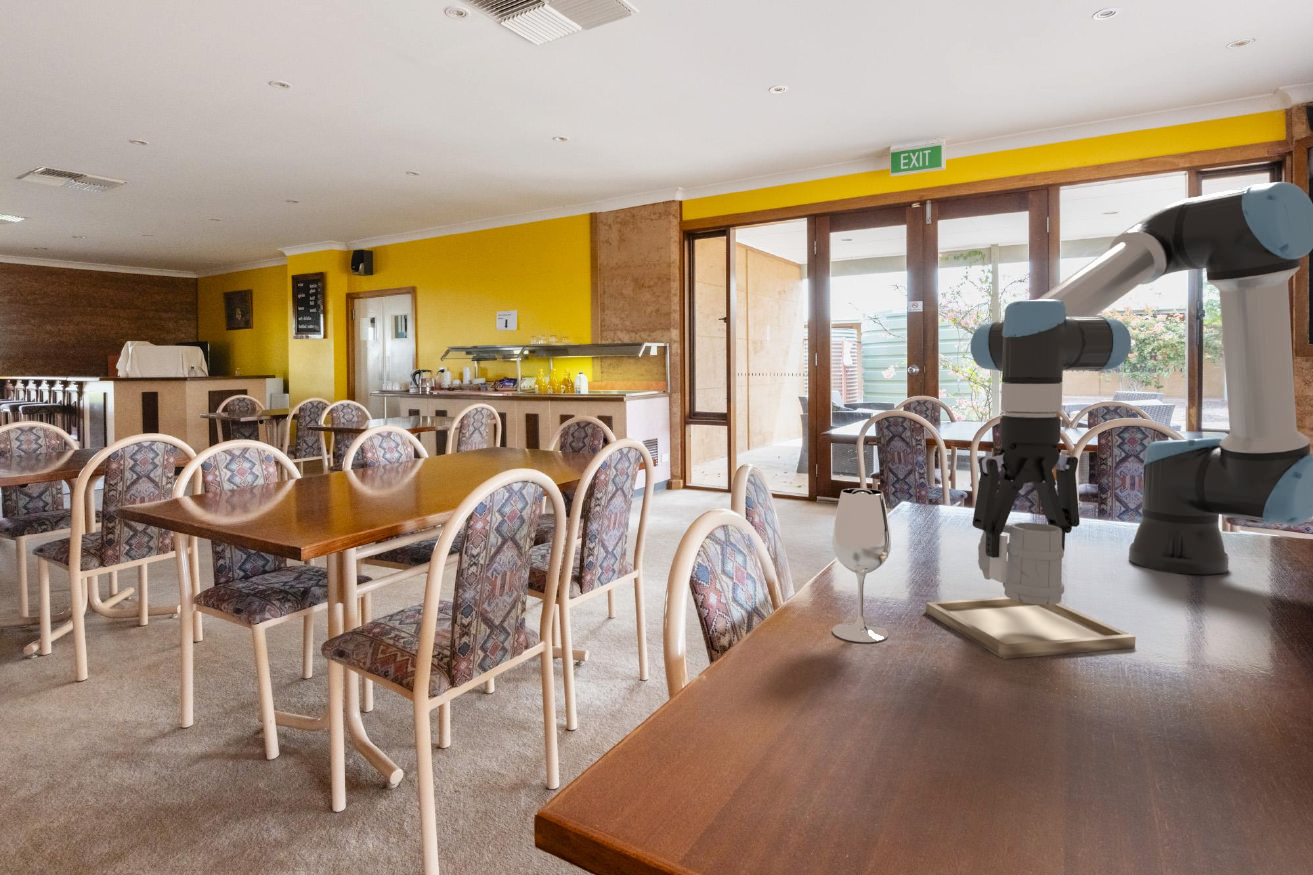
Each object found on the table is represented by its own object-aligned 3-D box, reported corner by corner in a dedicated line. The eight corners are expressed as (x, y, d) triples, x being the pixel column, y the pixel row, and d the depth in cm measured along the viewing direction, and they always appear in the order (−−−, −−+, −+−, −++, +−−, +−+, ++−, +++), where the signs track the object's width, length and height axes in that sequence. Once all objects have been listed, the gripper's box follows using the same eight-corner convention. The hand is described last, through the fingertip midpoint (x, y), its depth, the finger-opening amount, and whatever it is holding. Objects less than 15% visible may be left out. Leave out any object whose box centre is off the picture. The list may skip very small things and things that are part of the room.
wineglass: (890, 627, 110) (893, 488, 108) (888, 646, 103) (890, 497, 101) (834, 621, 113) (836, 485, 111) (828, 639, 106) (829, 494, 104)
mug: (1049, 609, 101) (1053, 519, 100) (963, 589, 110) (966, 506, 109) (1073, 598, 106) (1078, 512, 105) (989, 580, 115) (993, 500, 114)
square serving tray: (1039, 603, 120) (1039, 594, 120) (1135, 647, 101) (1135, 636, 101) (925, 612, 117) (925, 602, 116) (1003, 659, 98) (1003, 647, 98)
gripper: (1077, 411, 112) (1070, 567, 114) (947, 414, 108) (942, 575, 110) (1116, 415, 104) (1108, 581, 106) (978, 417, 101) (972, 589, 103)
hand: (1024, 578), depth 108 cm, fingers closed on mug, 7 cm apart
